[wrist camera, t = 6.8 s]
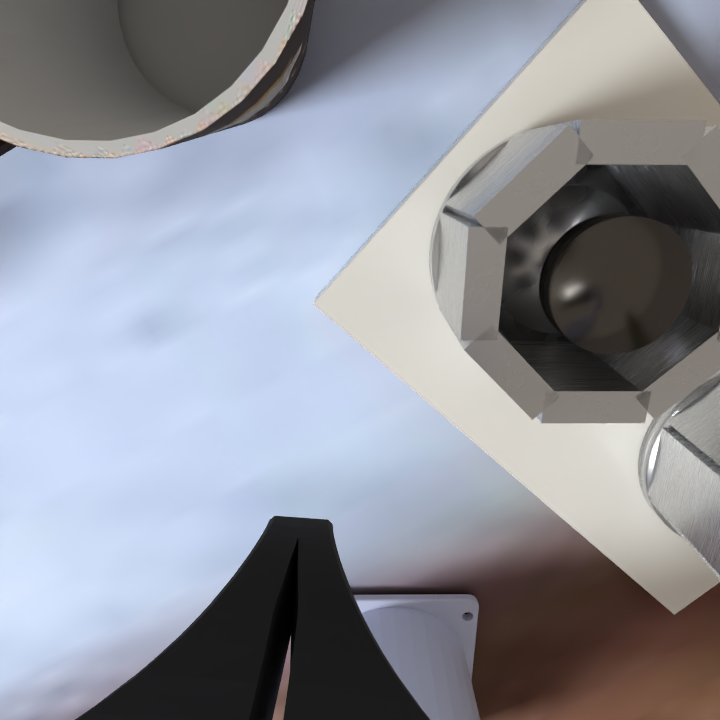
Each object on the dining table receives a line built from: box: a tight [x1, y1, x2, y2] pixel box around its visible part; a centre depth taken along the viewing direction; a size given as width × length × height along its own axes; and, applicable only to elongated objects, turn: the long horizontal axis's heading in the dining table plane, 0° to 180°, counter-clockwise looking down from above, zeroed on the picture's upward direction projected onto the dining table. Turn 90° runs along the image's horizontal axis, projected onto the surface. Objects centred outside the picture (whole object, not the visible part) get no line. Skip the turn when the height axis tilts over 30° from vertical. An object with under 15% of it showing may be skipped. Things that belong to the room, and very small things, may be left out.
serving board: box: [314, 0, 720, 615], centre depth 21 cm, size 22×14×1 cm, turn 48°
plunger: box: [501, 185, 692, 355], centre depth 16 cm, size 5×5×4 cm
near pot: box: [429, 119, 720, 423], centre depth 17 cm, size 8×11×5 cm
